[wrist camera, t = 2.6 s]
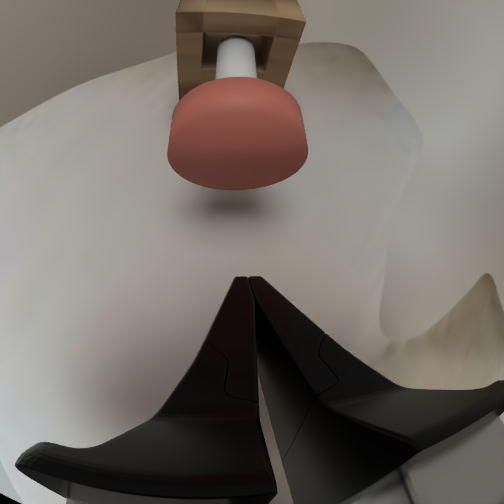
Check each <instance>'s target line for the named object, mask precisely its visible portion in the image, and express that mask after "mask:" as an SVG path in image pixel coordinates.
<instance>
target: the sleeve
mask: <svg viewBox="0 0 504 504" xmlns="http://www.w3.org/2000/svg"><path fill="white" fill-rule="evenodd" d="M305 24H306V20H305V18H304V15H303V14H302V11H301V9H300V6H299V4H298V2H297V0H180V3H179V5H178V8H177V10H176V46H177V70H178V87H179V101H180V100H181V99H182V97H183V96H184V95H186V94H187V93H188V92H189V91H191V90H192V89H194V88H195V87H197V86H199V85H201V84H204V83H206V82H209V81H212V80H215V78H216V62H217V48H218V44H219V43H220V41H221V40H222V39H224V38H225V37H228V36H231V35H242V36H245V37H247V38H249V39H250V40H251V41H252V42H253V44H254V51H255V62H256V73H257V79H262V80H266V81H268V82H271V83H274V84H276V85H278V86H280V87H282V88H284V85H285V82H286V79H287V76H288V73H289V70H290V67H291V64H292V61H293V58H294V56H295V53H296V50H297V47H298V44H299V41H300V38H301V35H302V32H303V30H304V27H305ZM206 32H207V33H206ZM235 33H236V34H235Z"/></svg>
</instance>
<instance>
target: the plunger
mask: <svg viewBox="0 0 504 504" xmlns="http://www.w3.org/2000/svg"><path fill="white" fill-rule="evenodd" d="M167 155H168V161H169V164H170V165H171V167H172V168H173V170H174V171H175V172H176V173H177V174H179V175H180V176H181V177H183V178H184V179H186V180H188V181H190V182H192V183H195V184H198V185H201V186H205V187H209V188H215V189H223V190H246V189H255V188H260V187H265V186H269V185H272V184H275V183H278V182H280V181H283V180H285V179H287V178H288V177H290V176H292V175H293V174H295V173H296V172H297V171H298V170H299V169H300V168H301V167H302V166H303V164H304V163H305V161H306V159H307V155H308V145H307V140H306V134H305V129H304V123H303V118H302V113H301V109H300V107H299V105H298V103H297V101H296V100H295V99H294V97H293V96H292V95H291V94H290V93H289V92H287V91H286V90H284V89H283V88H282V87H280V86H278V85H276V84H274V83H271V82H268V81H266V80H262V79H257V73H256V62H255V51H254V44H253V42H252V41H251V40H250V39H249V38H247V37H245V36H242V35H231V36H228V37H225V38H224V39H222V40H221V41H220V43H219V44H218V48H217V62H216V78H215V80H212V81H209V82H206V83H204V84H201V85H199V86H197V87H195V88H194V89H192V90H191V91H189V92H188V93H187V94H186V95H184V96H183V97H182V99H181V100H180V101H179V102H178V104H177V105H176V107H175V109H174V112H173V116H172V122H171V129H170V136H169V144H168V152H167Z"/></svg>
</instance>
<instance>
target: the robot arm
mask: <svg viewBox="0 0 504 504" xmlns="http://www.w3.org/2000/svg"><path fill="white" fill-rule="evenodd" d="M258 375H259V378H260V382H261V386H262V390H263V394H264V398H265V401H266V405H267V409H268V413H269V416H270V420H271V424H272V428H273V431H274V435H275V439H276V442H277V446H278V449H279V453H280V457H281V460H282V461H283V462H282V464H283V468H284V471H285V475H286V478H287V482H288V485H289V488H290V492H291V495H292V499H293V502H294V504H504V424H503V422H502V421H501V419H500V417H499V416H500V415H501V414H502V413H503V412H504V380H499V381H496V382H494V383H493V384H491V385H489V386H487V387H484V388H480V389H474V390H427V389H410V388H405V387H402V386H399V385H397V384H395V383H393V382H392V381H390V380H388V379H387V378H385V377H384V376H382V375H381V374H380V373H378V372H377V371H375V370H374V369H372V368H371V367H369V366H368V365H366V364H365V363H363V362H362V361H361V360H359V359H358V358H356V357H355V356H354V355H352V354H351V353H349V352H348V351H347V350H345V349H344V348H343V347H342V346H341V345H339V344H338V343H337V342H336V341H334V340H333V339H332V338H331V337H330V336H329V335H327V334H325V332H324V331H323V330H322V329H320V328H319V327H318V326H317V325H316V324H315V323H314V322H312V321H311V320H310V319H309V318H308V317H307V316H306V315H304V314H303V313H302V312H301V311H300V310H299V309H298V308H296V307H295V306H294V305H293V304H292V303H291V302H290V301H288V300H287V299H286V298H285V297H284V296H283V295H282V294H280V293H279V292H278V291H277V290H276V289H275V288H274V287H273V286H271V285H270V284H269V283H268V282H267V281H266V280H265V279H263V278H262V277H261V276H250V277H249V278H248V277H235V278H234V280H233V282H232V284H231V286H230V288H229V290H228V292H227V294H226V296H225V298H224V301H223V303H222V305H221V307H220V309H219V311H218V313H217V315H216V317H215V319H214V321H213V324H212V326H211V328H210V330H209V332H208V334H207V336H206V338H205V341H204V342H203V344H202V346H201V348H200V350H199V352H198V354H197V356H196V358H195V360H194V362H193V363H192V365H191V366H190V368H189V369H188V371H187V372H186V374H185V375H184V377H183V378H182V380H181V381H180V382H179V384H178V385H177V387H176V388H175V389H174V391H173V392H172V394H171V395H170V396H169V398H168V399H167V401H166V402H165V403H164V405H163V406H162V407H161V409H160V410H159V411H158V412H157V413H156V414H155V415H154V416H153V417H152V418H151V419H149V420H148V421H146V422H145V423H143V424H141V425H139V426H137V427H135V428H133V429H131V430H129V431H127V432H125V433H123V434H121V435H119V436H117V437H115V438H113V439H111V440H109V441H107V442H105V443H103V444H100V445H98V446H95V447H90V448H71V447H66V446H62V445H58V444H54V443H50V442H40V443H37V444H35V445H34V446H32V447H30V448H29V449H27V450H26V451H25V452H24V453H22V454H21V456H20V457H19V458H18V460H17V461H16V463H15V466H16V468H17V469H18V470H19V471H20V472H22V473H23V474H25V475H26V476H28V477H29V478H31V479H33V480H34V481H36V482H37V483H39V484H41V485H43V486H44V487H46V488H48V489H50V490H51V491H53V492H55V493H57V494H59V495H61V496H63V497H65V498H67V501H66V504H269V502H270V501H271V500H272V499H273V498H274V497H275V496H276V495H277V485H276V480H275V476H274V473H273V469H272V465H271V462H270V458H269V454H268V450H267V447H266V443H265V439H264V435H263V431H262V427H261V423H260V416H259V404H258V403H259V398H258ZM0 504H21V503H19V502H17V501H15V500H13V499H10V498H9V497H7V496H5V495H3V494H1V493H0Z"/></svg>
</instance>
